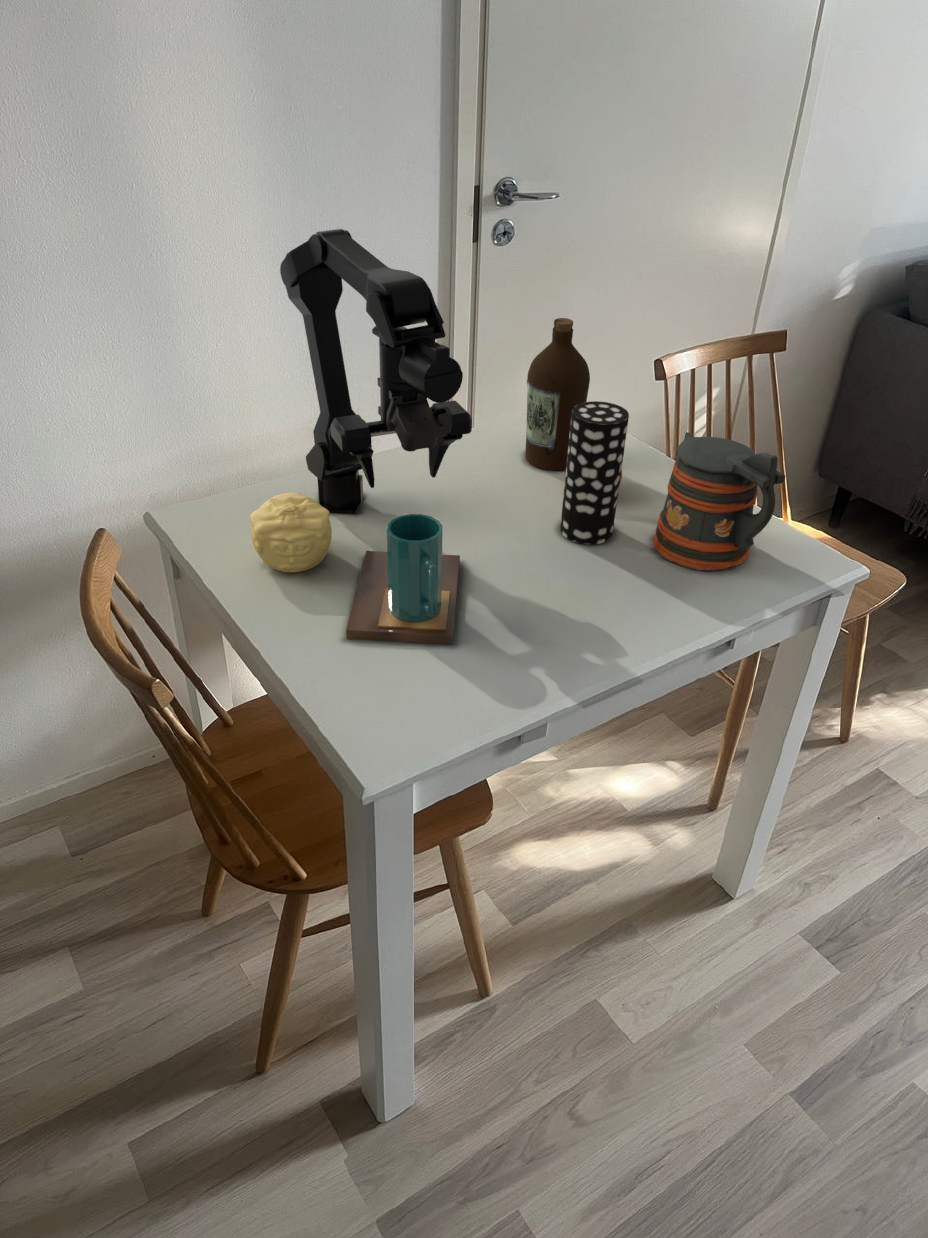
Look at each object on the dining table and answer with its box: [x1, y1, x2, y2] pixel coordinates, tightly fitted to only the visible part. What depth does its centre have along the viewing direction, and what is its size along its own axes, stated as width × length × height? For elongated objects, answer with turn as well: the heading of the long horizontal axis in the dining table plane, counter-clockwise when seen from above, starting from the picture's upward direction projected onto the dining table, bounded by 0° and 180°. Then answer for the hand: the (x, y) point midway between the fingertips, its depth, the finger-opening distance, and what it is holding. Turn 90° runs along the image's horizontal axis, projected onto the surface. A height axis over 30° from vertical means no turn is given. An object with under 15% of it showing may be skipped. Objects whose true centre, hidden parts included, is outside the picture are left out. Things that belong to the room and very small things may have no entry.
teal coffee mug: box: [386, 513, 444, 622], centre depth 126 cm, size 10×7×12 cm
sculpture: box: [249, 492, 333, 573], centre depth 140 cm, size 12×12×11 cm
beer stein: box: [653, 431, 786, 572], centre depth 142 cm, size 19×15×20 cm
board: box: [345, 550, 461, 645], centre depth 135 cm, size 14×20×2 cm
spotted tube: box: [559, 400, 630, 545], centre depth 147 cm, size 8×8×20 cm
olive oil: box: [524, 317, 591, 471], centre depth 166 cm, size 11×11×25 cm
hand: (402, 481), depth 137 cm, fingers open, 9 cm apart
